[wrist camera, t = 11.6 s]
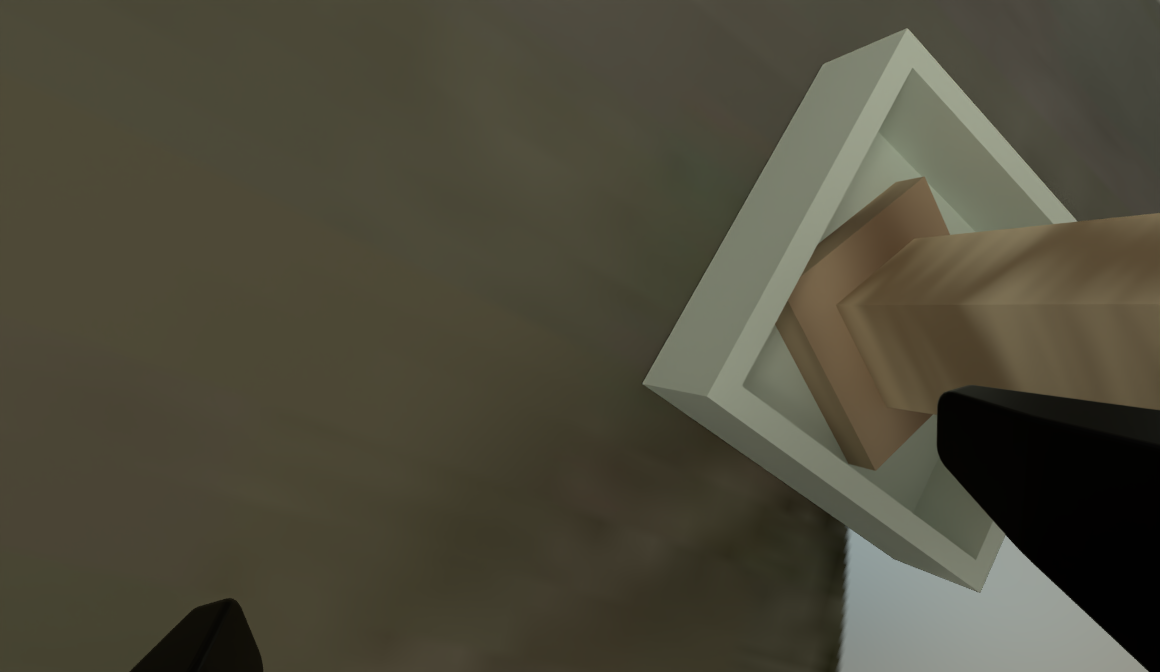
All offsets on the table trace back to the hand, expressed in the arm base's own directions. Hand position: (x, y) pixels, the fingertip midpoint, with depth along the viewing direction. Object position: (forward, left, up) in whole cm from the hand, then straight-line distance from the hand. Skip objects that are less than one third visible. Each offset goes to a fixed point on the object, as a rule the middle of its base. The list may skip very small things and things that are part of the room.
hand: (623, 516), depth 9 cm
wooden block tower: (+10, -12, -11) cm, 19 cm away
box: (+10, -12, -12) cm, 19 cm away
